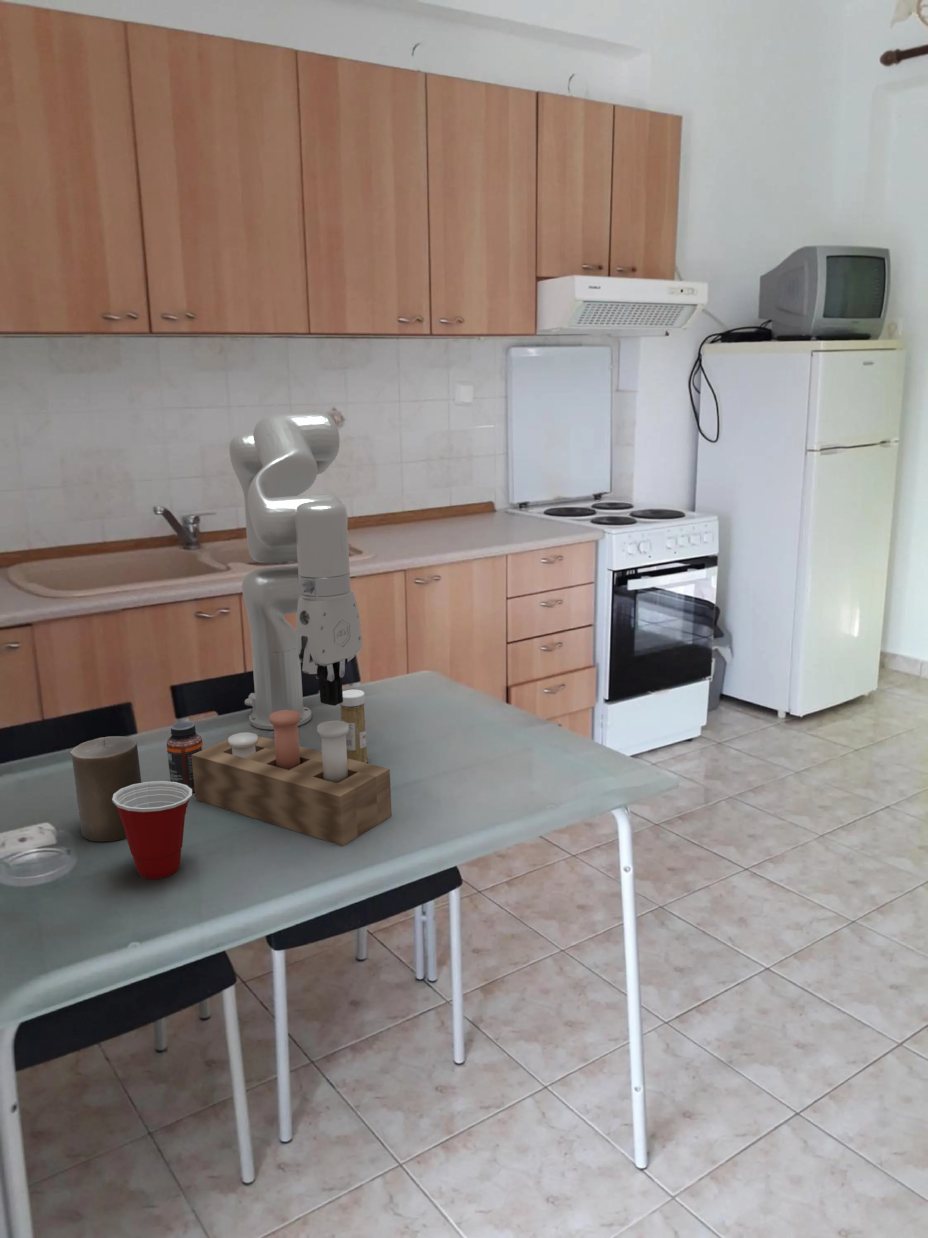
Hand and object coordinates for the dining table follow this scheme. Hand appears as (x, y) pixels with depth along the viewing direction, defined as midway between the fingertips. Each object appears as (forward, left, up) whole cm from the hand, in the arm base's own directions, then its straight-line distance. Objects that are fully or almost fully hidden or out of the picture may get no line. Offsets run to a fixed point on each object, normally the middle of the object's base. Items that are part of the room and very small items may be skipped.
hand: (331, 702), depth 150 cm
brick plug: (-10, 0, -14) cm, 17 cm away
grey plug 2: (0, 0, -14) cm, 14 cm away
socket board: (-10, 0, -20) cm, 22 cm away
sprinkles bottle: (-13, +20, -20) cm, 31 cm away
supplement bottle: (-31, -3, -20) cm, 37 cm away
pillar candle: (-29, -20, -20) cm, 41 cm away
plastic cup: (-12, -25, -20) cm, 34 cm away
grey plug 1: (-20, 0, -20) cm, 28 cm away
